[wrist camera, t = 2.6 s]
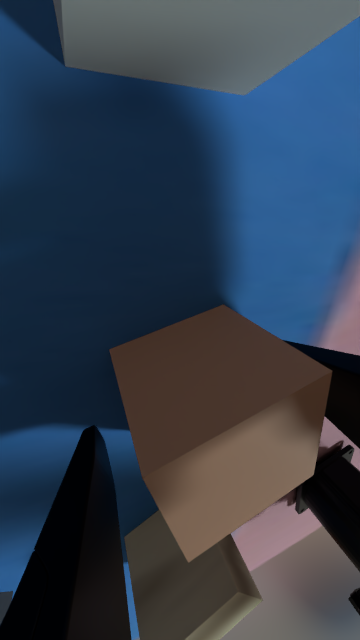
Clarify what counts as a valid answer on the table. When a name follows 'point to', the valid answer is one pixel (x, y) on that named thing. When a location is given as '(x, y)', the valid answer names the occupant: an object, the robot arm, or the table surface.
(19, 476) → the table surface
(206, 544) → the brown block
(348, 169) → the table surface
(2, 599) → the charcoal block
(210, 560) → the birch block
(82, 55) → the off-white block
